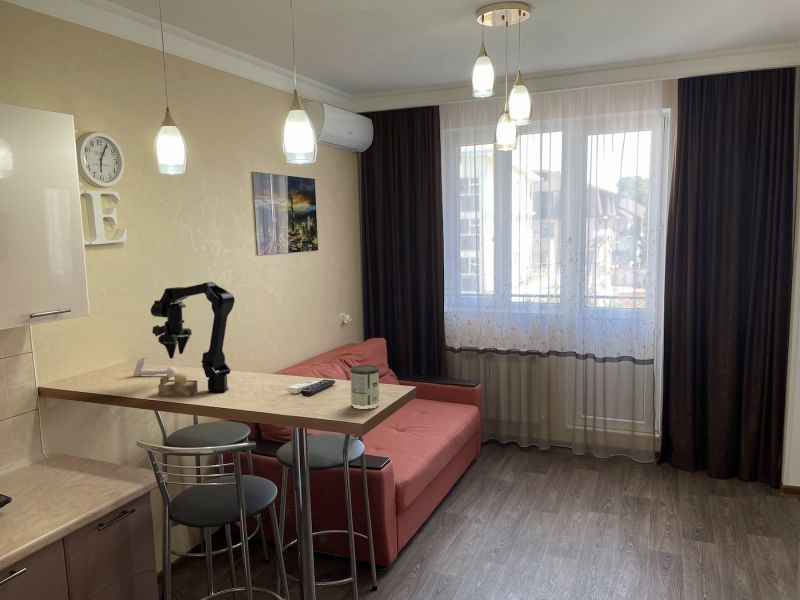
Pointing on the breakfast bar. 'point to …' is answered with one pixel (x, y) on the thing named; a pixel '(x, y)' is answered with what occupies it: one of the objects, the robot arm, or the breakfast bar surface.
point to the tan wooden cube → (180, 379)
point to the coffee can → (364, 385)
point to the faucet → (141, 371)
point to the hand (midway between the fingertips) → (176, 356)
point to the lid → (166, 382)
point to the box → (177, 389)
